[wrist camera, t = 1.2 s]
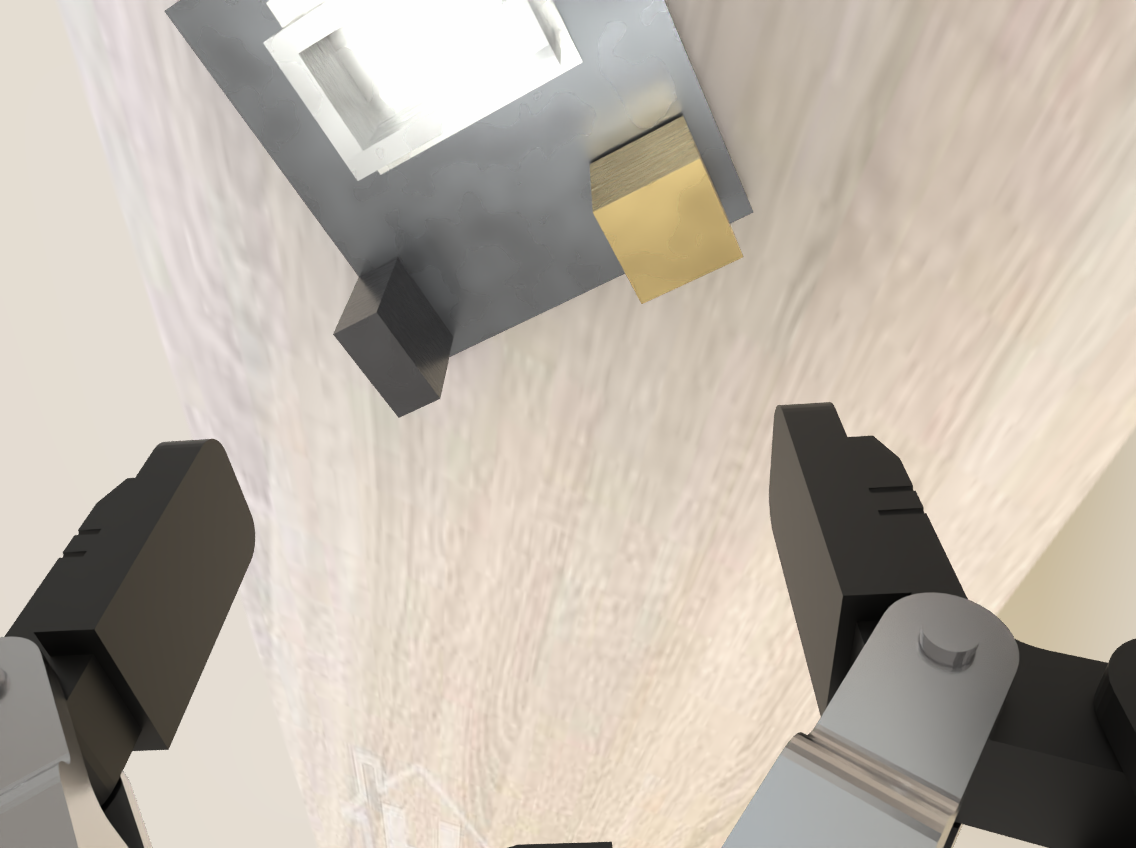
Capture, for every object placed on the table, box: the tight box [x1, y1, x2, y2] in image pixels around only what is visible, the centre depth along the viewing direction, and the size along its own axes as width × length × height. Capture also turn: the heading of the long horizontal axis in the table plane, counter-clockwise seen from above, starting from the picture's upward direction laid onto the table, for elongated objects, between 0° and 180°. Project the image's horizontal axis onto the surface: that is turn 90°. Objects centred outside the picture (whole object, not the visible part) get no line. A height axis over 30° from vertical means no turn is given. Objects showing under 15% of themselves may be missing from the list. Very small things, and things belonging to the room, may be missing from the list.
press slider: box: [590, 116, 743, 304], centre depth 32 cm, size 4×4×5 cm
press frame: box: [165, 0, 753, 417], centre depth 32 cm, size 16×17×6 cm
